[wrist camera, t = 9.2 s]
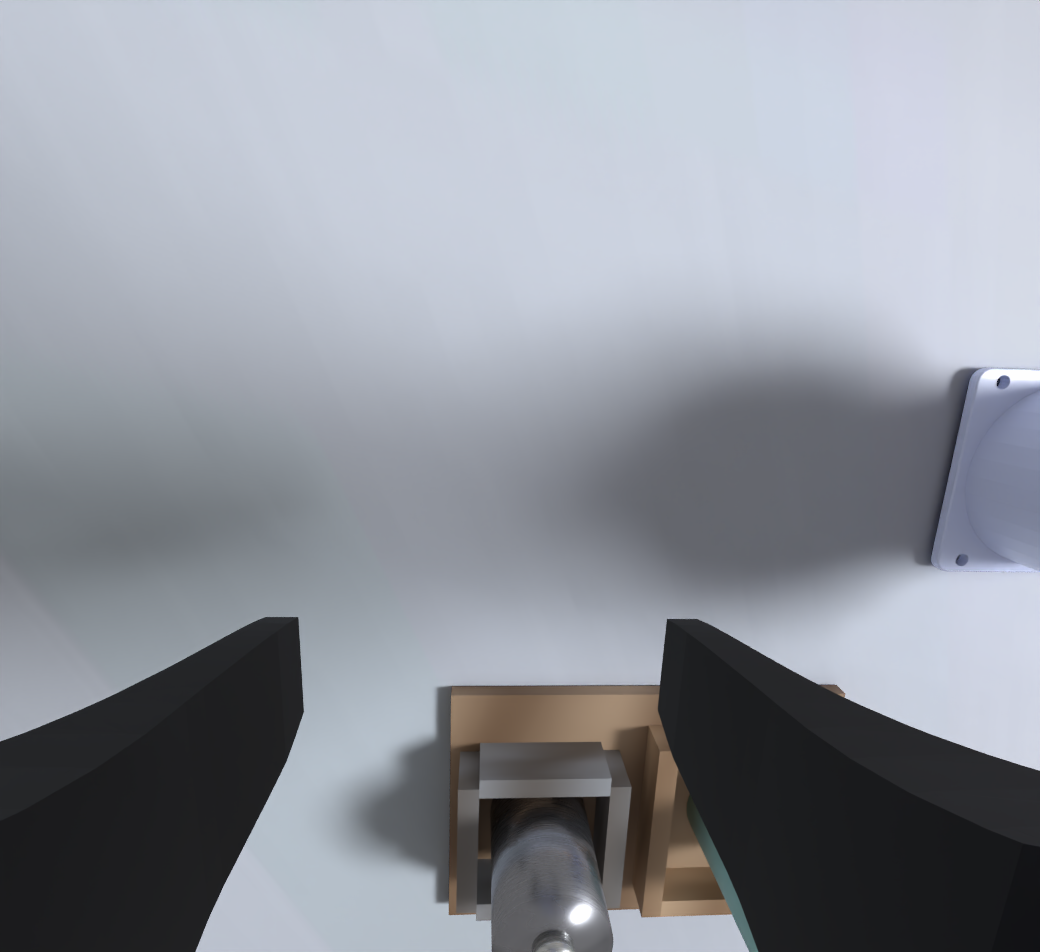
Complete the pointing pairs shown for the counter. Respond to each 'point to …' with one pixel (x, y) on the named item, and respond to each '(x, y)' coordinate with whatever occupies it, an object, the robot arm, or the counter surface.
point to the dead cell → (545, 878)
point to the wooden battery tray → (578, 791)
